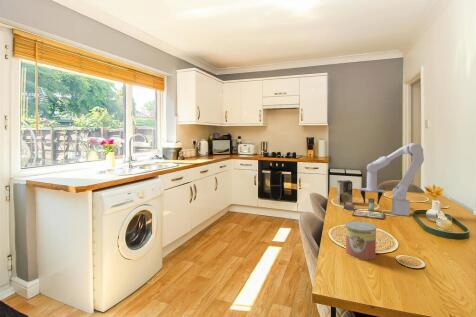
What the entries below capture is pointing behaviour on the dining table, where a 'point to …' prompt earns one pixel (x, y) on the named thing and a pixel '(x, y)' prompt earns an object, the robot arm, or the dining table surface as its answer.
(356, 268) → the dining table surface
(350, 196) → the coffee box
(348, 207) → the button housing
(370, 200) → the sage marker
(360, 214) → the colouring board
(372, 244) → the canned food
